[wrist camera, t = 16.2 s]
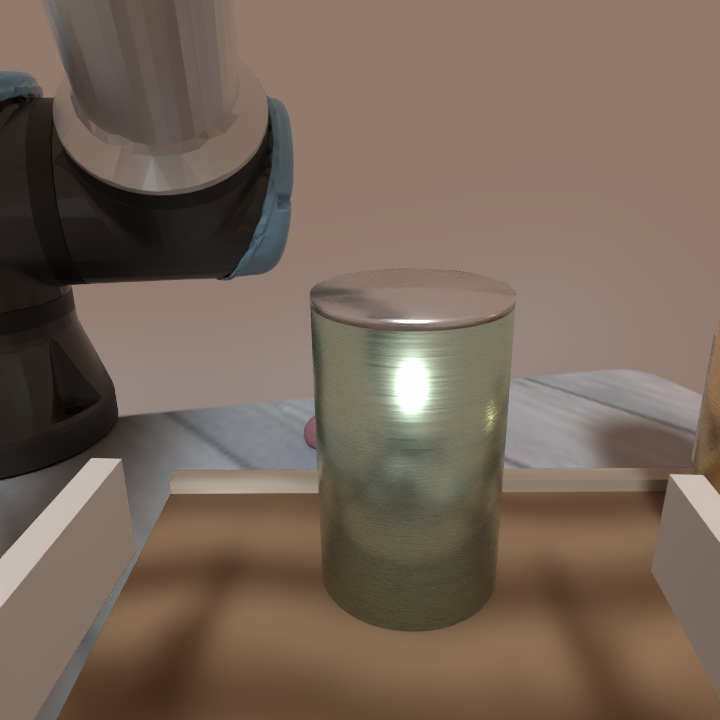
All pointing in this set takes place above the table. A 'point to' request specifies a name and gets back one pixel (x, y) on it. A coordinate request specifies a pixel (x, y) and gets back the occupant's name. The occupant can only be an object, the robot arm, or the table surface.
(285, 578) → the wooden tray
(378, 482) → the green tin
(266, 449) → the table surface
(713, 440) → the mustard tin
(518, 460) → the table surface
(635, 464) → the table surface
